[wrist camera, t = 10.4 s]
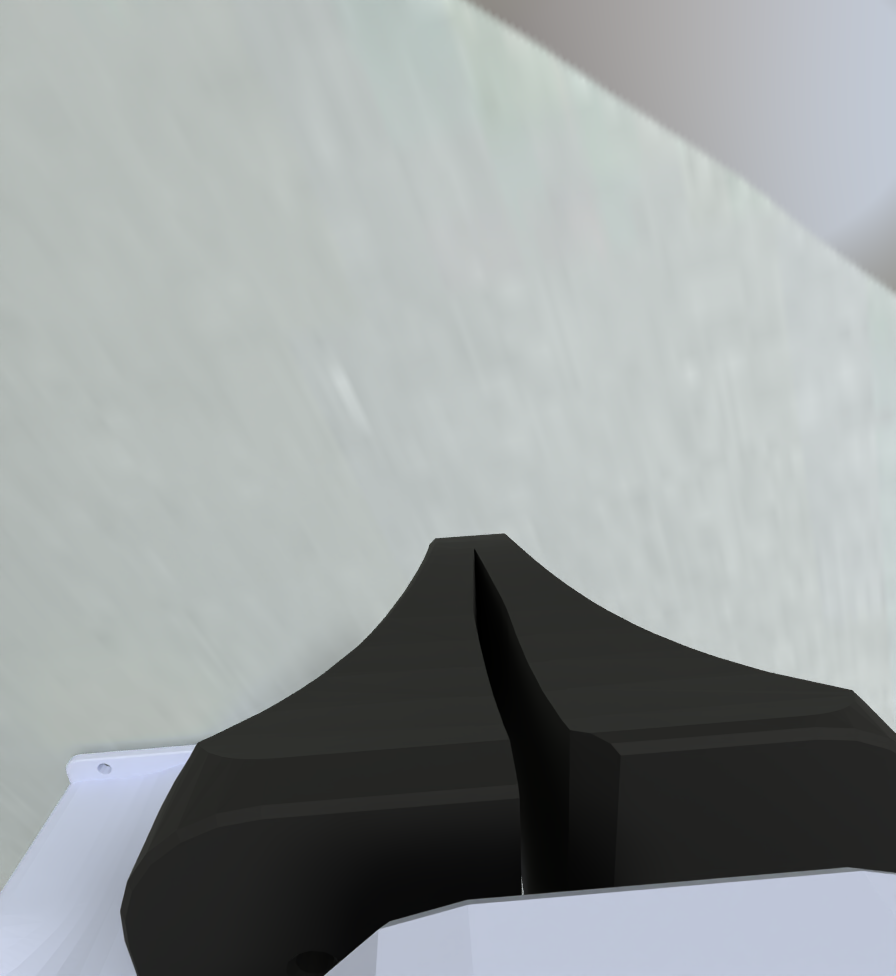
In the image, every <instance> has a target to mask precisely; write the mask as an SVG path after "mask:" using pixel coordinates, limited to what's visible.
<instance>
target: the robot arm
mask: <svg viewBox="0 0 896 976" xmlns="http://www.w3.org/2000/svg"><path fill="white" fill-rule="evenodd" d="M105 764H108V765H109V766H106V765H105ZM66 773H67V775H68V778H69V781H70V785H69V786H68V788H67V789H66V791H65V793H64V794H63V796H62V797H61V799H60V800H59V802H58V803H57V805H56V807H55V808H54V810H53V811H52V813H51V814H50V816H49V818H48V819H47V821H46V822H45V824H44V825H43V827H42V828H41V830H40V832H39V833H38V835H37V836H36V838H35V839H34V841H33V842H32V844H31V846H30V847H29V849H28V850H27V852H26V853H25V855H24V856H23V858H22V860H21V861H20V863H19V864H18V866H17V867H16V869H15V870H14V872H13V874H12V875H11V877H10V878H9V880H8V881H7V883H6V884H5V886H4V888H3V889H2V891H1V892H0V976H896V733H895V732H894V731H893V730H892V729H891V728H890V727H889V726H888V725H887V724H886V723H885V722H884V721H883V720H882V719H881V718H880V717H879V716H878V715H877V714H876V713H875V712H874V711H873V710H872V709H871V708H870V707H869V706H868V705H867V704H866V703H865V702H864V701H863V700H862V699H861V698H860V697H859V696H858V695H857V694H856V693H854V692H853V691H852V690H849V689H844V688H839V687H835V686H830V685H826V684H821V683H816V682H812V681H807V680H802V679H798V678H793V677H789V676H784V675H779V674H775V673H770V672H766V671H763V670H759V669H755V668H752V667H749V666H745V665H742V664H738V663H735V662H732V661H728V660H725V659H721V658H718V657H715V656H712V655H709V654H706V653H703V652H700V651H698V650H695V649H692V648H689V647H686V646H684V645H681V644H679V643H677V642H674V641H672V640H669V639H667V638H664V637H662V636H659V635H657V634H654V633H652V632H650V631H648V630H645V629H643V628H641V627H639V626H637V625H635V624H633V623H631V622H629V621H627V620H625V619H623V618H621V617H619V616H617V615H615V614H613V613H612V612H610V611H608V610H606V609H604V608H602V607H601V606H599V605H597V604H596V603H594V602H592V601H591V600H589V599H588V598H586V597H585V596H583V595H582V594H580V593H579V592H577V591H575V590H574V589H572V588H571V587H569V586H568V585H567V584H565V583H564V582H562V581H561V580H560V579H558V578H557V577H556V576H554V575H553V574H552V573H550V572H549V571H548V570H547V569H545V568H544V567H543V566H542V565H540V564H539V563H538V562H537V561H535V560H534V559H533V558H532V557H531V556H530V555H528V554H527V553H526V552H525V551H524V550H523V549H522V548H520V547H519V546H518V545H517V544H516V543H515V542H514V541H513V540H511V539H510V538H509V537H508V536H507V535H506V534H490V535H476V536H462V537H449V538H435V539H434V540H433V542H432V543H431V544H430V545H429V548H428V551H427V553H426V556H425V558H424V560H423V562H422V564H421V565H420V567H419V569H418V571H417V573H416V574H415V576H414V577H413V579H412V581H411V582H410V584H409V585H408V587H407V589H406V590H405V592H404V593H403V594H402V596H401V597H400V598H399V600H398V601H397V602H396V604H395V605H394V606H393V608H392V609H391V610H390V612H389V613H388V614H387V615H386V617H385V618H384V619H383V620H382V621H381V623H380V624H379V625H378V626H377V627H376V628H375V629H374V630H373V631H372V633H371V634H370V635H369V636H368V637H367V638H366V639H365V640H364V641H363V642H362V643H361V644H360V645H359V646H358V647H356V648H355V649H354V650H353V651H351V652H350V653H349V654H348V655H346V656H345V657H344V658H343V659H341V660H340V661H339V662H338V663H336V664H335V665H334V666H333V667H331V668H330V669H329V670H328V671H326V672H325V673H324V674H322V675H321V676H320V677H318V678H317V679H315V680H314V681H312V682H311V683H309V684H308V685H306V686H305V687H303V688H302V689H300V690H299V691H297V692H295V693H294V694H292V695H290V696H289V697H287V698H285V699H284V700H282V701H280V702H279V703H277V704H275V705H274V706H272V707H270V708H268V709H266V710H264V711H263V712H261V713H259V714H257V715H255V716H253V717H251V718H249V719H247V720H245V721H242V722H240V723H238V724H236V725H234V726H232V727H230V728H228V729H226V730H224V731H222V732H220V733H218V734H216V735H214V736H212V737H209V738H207V739H205V740H203V741H200V742H198V743H197V745H185V746H173V747H161V748H149V749H136V750H124V751H112V752H100V753H88V754H78V755H75V756H73V757H72V758H71V759H70V760H69V762H68V763H67V765H66ZM521 876H522V882H521ZM522 883H523V890H524V895H522Z"/></svg>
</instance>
